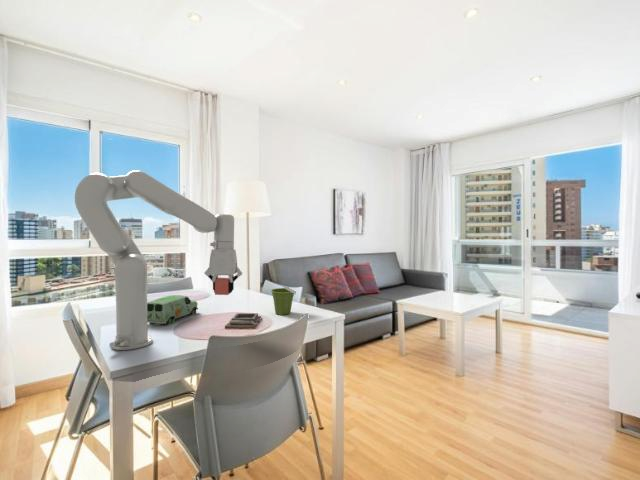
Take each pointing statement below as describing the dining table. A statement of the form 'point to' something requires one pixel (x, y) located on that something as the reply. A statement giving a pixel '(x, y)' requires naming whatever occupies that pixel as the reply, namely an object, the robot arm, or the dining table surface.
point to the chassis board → (243, 321)
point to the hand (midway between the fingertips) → (223, 291)
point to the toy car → (170, 309)
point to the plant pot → (282, 300)
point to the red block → (222, 286)
